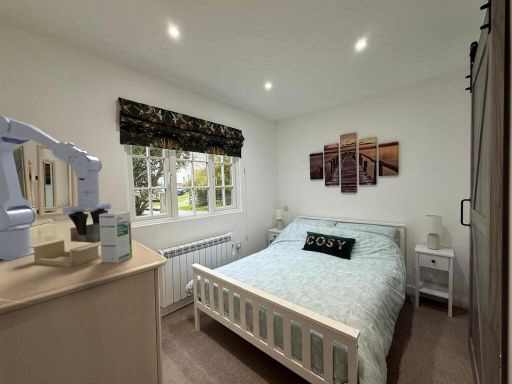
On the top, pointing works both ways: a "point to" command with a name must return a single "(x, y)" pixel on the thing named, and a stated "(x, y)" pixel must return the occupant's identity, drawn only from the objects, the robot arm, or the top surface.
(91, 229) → the box
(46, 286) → the top surface
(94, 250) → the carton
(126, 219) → the syrup box
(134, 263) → the top surface
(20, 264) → the top surface
